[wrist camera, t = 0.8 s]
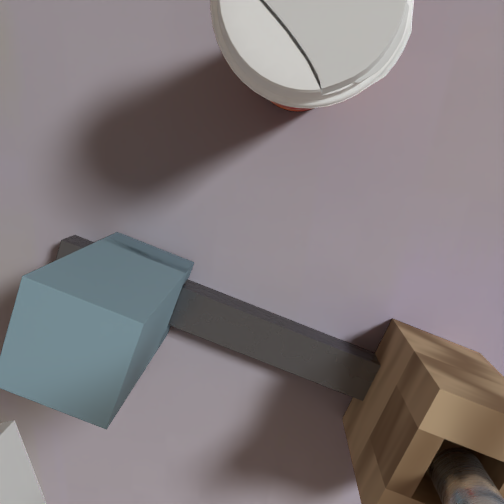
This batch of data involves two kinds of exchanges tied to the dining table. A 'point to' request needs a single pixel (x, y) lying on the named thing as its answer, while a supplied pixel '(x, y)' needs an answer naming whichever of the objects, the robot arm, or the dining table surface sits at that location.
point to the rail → (266, 336)
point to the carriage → (91, 326)
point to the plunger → (462, 478)
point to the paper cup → (311, 46)
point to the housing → (423, 416)
